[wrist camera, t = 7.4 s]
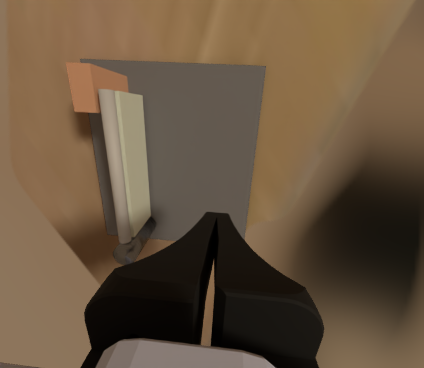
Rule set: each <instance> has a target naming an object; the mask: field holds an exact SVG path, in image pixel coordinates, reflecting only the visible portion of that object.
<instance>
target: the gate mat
mask: <svg viewBox="0 0 424 368" xmlns="http://www.w3.org/2000/svg"><path fill="white" fill-rule="evenodd" d="M80 62H81V63H90V64H93V65H96V66H99V67H102V68H104V69H107V70H110V71H113V72H116V73H119V74H122V75H125V76H127V81H128V92H129V93H132V94H138V95H142V96H143V110H144V124H145V139H146V153H147V167H148V181H149V195H150V210H151V216H150V217H152V218H153V219H154V220H155V221H156V228H155V229H154V231H153V233H152V234H151V236H150V237H149V238H150V239H161V240H172V241H177V240H179V239H180V238H181V237H182V236H184V235H185V234H186V233H187V232H188V231H189V230H190V229H192V228H193V227H194V225H195V224H196V223H197V222H198V221H199V220H200V219H201V218H202V217H203V215H204V214H205V213H206V212H217V213H228V214H229V215H230V218H231V220H232V222H233V224H234V226H235V227H236V229H237V230H238V232H239V234H240V235H241V236H242V238H243V239H244V238H245V230H246V222H247V214H248V206H249V198H250V190H251V182H252V174H253V166H254V158H255V150H256V142H257V134H258V126H259V118H260V110H261V102H262V94H263V86H264V78H265V70H266V66H252V65H226V64H199V63H173V62H147V61H121V60H95V59H80ZM88 113H89V112H88ZM89 120H90V126H91V132H92V139H93V145H94V151H95V158H96V164H97V171H98V177H99V183H100V190H101V196H102V202H103V209H104V215H105V221H106V228H107V234H108V235H117V236H118V230H117V222H116V215H115V208H114V201H113V194H112V187H111V180H110V173H109V165H108V158H107V151H106V144H105V137H104V130H103V123H102V115H101V113H89Z"/></svg>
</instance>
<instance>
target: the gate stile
mask: <svg viewBox="0 0 424 368" xmlns="http://www.w3.org/2000/svg"><path fill="white" fill-rule="evenodd" d="M66 66H67V71H68V77H69V83H70V88H71V94H72V99H73V105H74V110H75V112H89V113H101V108H100V101H99V94H98V89H109V90H115V91H122V92H127V93H129V92H128V81H127V76H125V75H122V74H119V73H116V72H113V71H110V70H107V69H104V68H102V67H99V66H96V65H93V64H90V63H69V62H66Z"/></svg>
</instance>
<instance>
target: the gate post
mask: <svg viewBox="0 0 424 368" xmlns="http://www.w3.org/2000/svg"><path fill="white" fill-rule="evenodd" d="M155 228H156V221H155V220H154V219H153V218H152V217H149V219H148V220H147V221H146V223H145V224H144V225H143V227H142V228H141V229H140V231H139V232H138V233H137V235H136V236H135V237H131V241H130V242H128V243H125V244H122V243H120V244H119V245H118V246H117V247H116V248H115V250H114V251H113V256H114V258H115V260H116V261H117V262H118V263H120V264H123V265H127V264H130V263H133V262H134V261H135V260H136V258H137V256H138V255H139V253H140V252H141V250H142V248H143V247H144V245H145V244H146V242H147V241H148V239H149V237H150V236H151V234H152V233H153V231H154V229H155Z"/></svg>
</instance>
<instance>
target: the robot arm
mask: <svg viewBox="0 0 424 368" xmlns="http://www.w3.org/2000/svg"><path fill="white" fill-rule="evenodd" d="M213 260H214V285H215V294H214V308H213V322H212V336H211V346H203V345H201V337H202V328H203V319H204V310H205V301H206V295H207V289H208V285H209V280H210V275H211V270H212V265H213ZM84 315H85V323H86V327H87V331H88V335H89V339H90V343H91V348H92V349H91V351H90V352H89V354H88V355H87V357H86V359H85V361H84V362H83V364H82V366H81V368H319V367H318V364H317V361H316V358H315V357H316V354H317V352H318V349H319V346H320V343H321V341H322V338H323V333H324V325H323V322H322V319H321V316H320V314H319V312H318V310H317V308H316V306H315V304H314V302H313V300H312V298H311V297H310V295H309V293H308V292H307V290H306V288H305V287H303V286H301V285H300V284H298V283H297V282H295V281H293V280H291V279H290V278H288V277H286V276H285V275H283V274H282V273H280V272H279V271H277V270H276V269H275V268H273V267H271V266H270V265H269V264H268V263H267V262H265V261H264V260H263V259H262V258H261V257H260V256H258V255H257V254H256V253H255V252H254V251H253V250H252V249H251V248H250V247H249V245H248V244H247V243H246V242H245V240H244V239H243V238H242V236H241V235H240V234H239V232H238V230H237V229H236V227H235V226H234V224H233V222H232V220H231V218H230V215H229V214H228V213H217V212H206V213H205V214H204V215H203V217H202V218H201V219H200V220H199V221H198V222H197V223H196V224H195V225H194V227H193V228H192V229H190V230H189V231H188V232H187V233H186V234H185V235H184V236H182V237H181V238H180V239H179V240H177V241H176V242H174V243H173V244H171V245H170V246H168V247H166V248H164V249H163V250H161V251H159V252H157V253H155V254H153V255H151V256H148V257H146V258H144V259H141V260H139V261H136V262H133V263H130V264H127V265H124V266H122V267H118V268H115V269H114V270H113V272H112V273H111V274H110V275H109V276H108V277H107V278H106V280H105V281H104V282H103V284H102V285H101V286H100V288H99V289H98V290H97V292H96V293H95V295H94V296H93V297H92V299H91V300H90V302H89V303H88V304H87V306H86V309H85V312H84ZM0 368H38V367H30V366H23V365H15V364H7V363H0Z"/></svg>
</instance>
